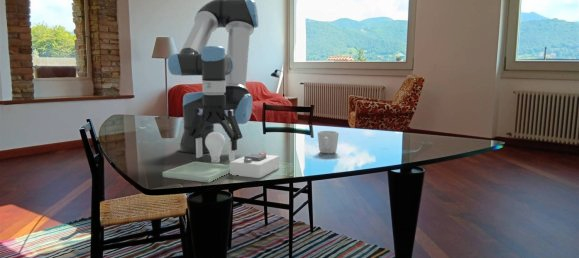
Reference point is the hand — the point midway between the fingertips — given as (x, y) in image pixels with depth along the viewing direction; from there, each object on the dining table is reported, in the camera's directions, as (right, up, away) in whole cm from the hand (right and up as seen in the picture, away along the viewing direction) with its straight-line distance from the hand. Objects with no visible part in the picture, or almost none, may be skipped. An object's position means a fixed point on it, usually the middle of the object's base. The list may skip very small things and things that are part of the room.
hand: (215, 158), depth 141 cm
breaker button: (+14, -2, -10) cm, 17 cm away
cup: (+39, 0, +20) cm, 44 cm away
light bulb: (0, -2, 0) cm, 2 cm away
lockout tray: (-2, -4, -13) cm, 13 cm away
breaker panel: (+14, -3, -10) cm, 18 cm away
